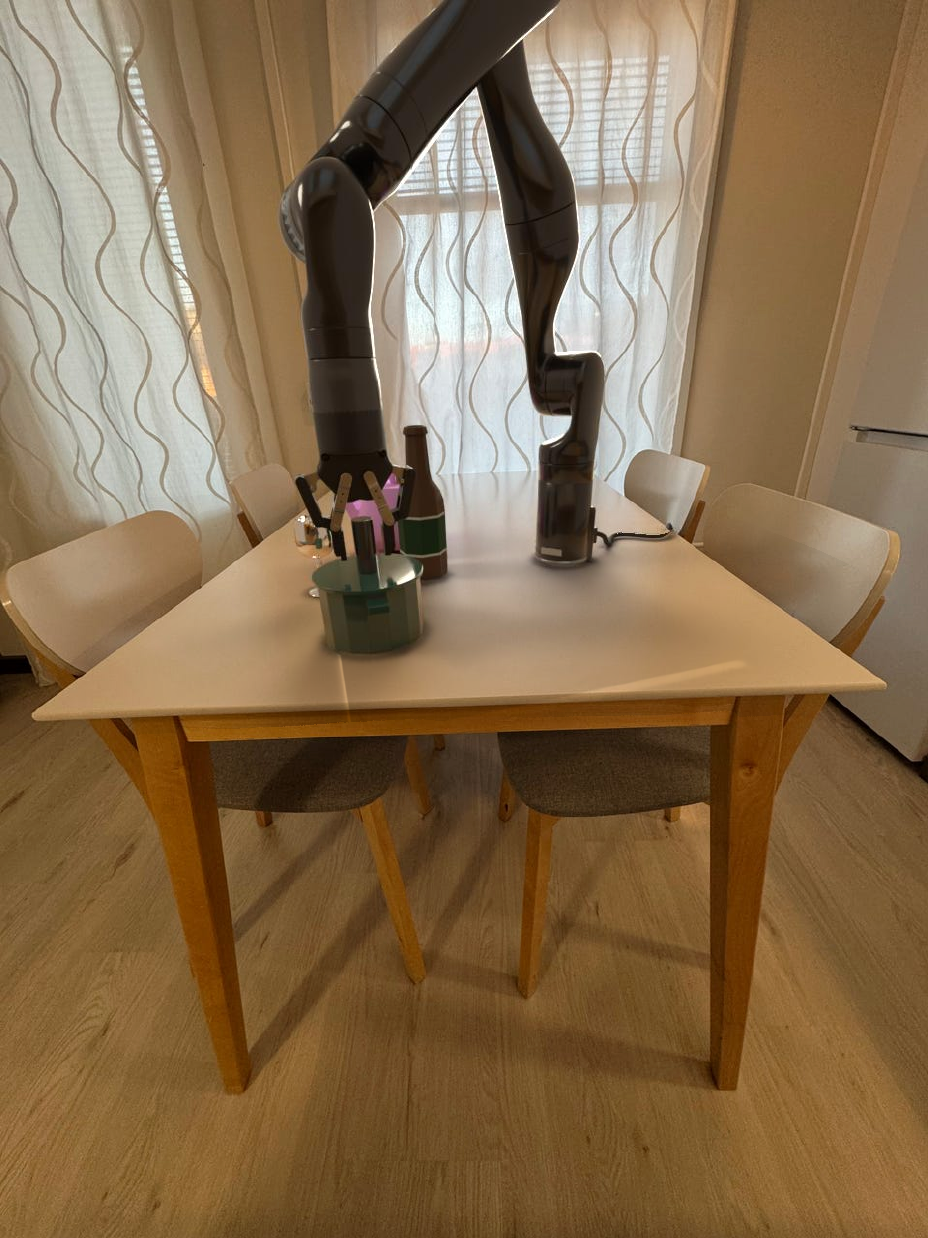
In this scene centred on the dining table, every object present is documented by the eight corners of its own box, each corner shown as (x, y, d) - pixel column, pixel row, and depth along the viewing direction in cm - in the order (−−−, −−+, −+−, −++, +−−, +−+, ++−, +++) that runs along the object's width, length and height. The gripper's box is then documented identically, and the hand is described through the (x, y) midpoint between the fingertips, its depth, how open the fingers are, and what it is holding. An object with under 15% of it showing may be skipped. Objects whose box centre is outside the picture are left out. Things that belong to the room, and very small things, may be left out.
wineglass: (332, 599, 77) (320, 523, 72) (298, 597, 79) (283, 522, 73) (347, 585, 82) (337, 513, 77) (315, 584, 84) (303, 512, 78)
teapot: (363, 532, 112) (354, 462, 105) (451, 532, 109) (448, 461, 102) (329, 561, 94) (317, 479, 88) (434, 562, 91) (429, 478, 85)
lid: (411, 555, 70) (407, 501, 67) (434, 590, 59) (430, 526, 55) (311, 568, 67) (301, 511, 64) (314, 607, 55) (302, 540, 52)
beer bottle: (457, 574, 86) (451, 424, 75) (424, 587, 81) (412, 428, 70) (426, 564, 90) (416, 422, 80) (393, 576, 85) (378, 427, 75)
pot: (409, 601, 76) (404, 547, 72) (438, 657, 60) (433, 592, 56) (324, 614, 73) (314, 558, 69) (330, 676, 57) (319, 609, 53)
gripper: (277, 411, 49) (306, 574, 57) (419, 404, 53) (429, 558, 60) (279, 408, 56) (305, 554, 63) (406, 402, 59) (416, 541, 67)
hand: (366, 555), depth 62 cm, fingers open, 4 cm apart
